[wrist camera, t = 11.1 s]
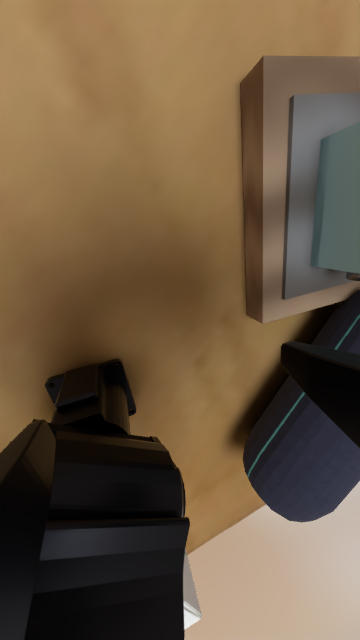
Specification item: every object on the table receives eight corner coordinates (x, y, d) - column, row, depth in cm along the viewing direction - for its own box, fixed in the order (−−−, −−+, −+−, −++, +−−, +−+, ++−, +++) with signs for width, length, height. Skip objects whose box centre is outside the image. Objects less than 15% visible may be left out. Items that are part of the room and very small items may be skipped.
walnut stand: (358, 284, 26) (387, 289, 23) (247, 314, 23) (265, 325, 20) (396, 80, 19) (444, 53, 16) (240, 83, 15) (267, 50, 13)
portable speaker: (264, 449, 32) (329, 529, 24) (218, 449, 27) (281, 552, 19) (371, 302, 28) (496, 338, 20) (340, 267, 22) (495, 296, 14)
